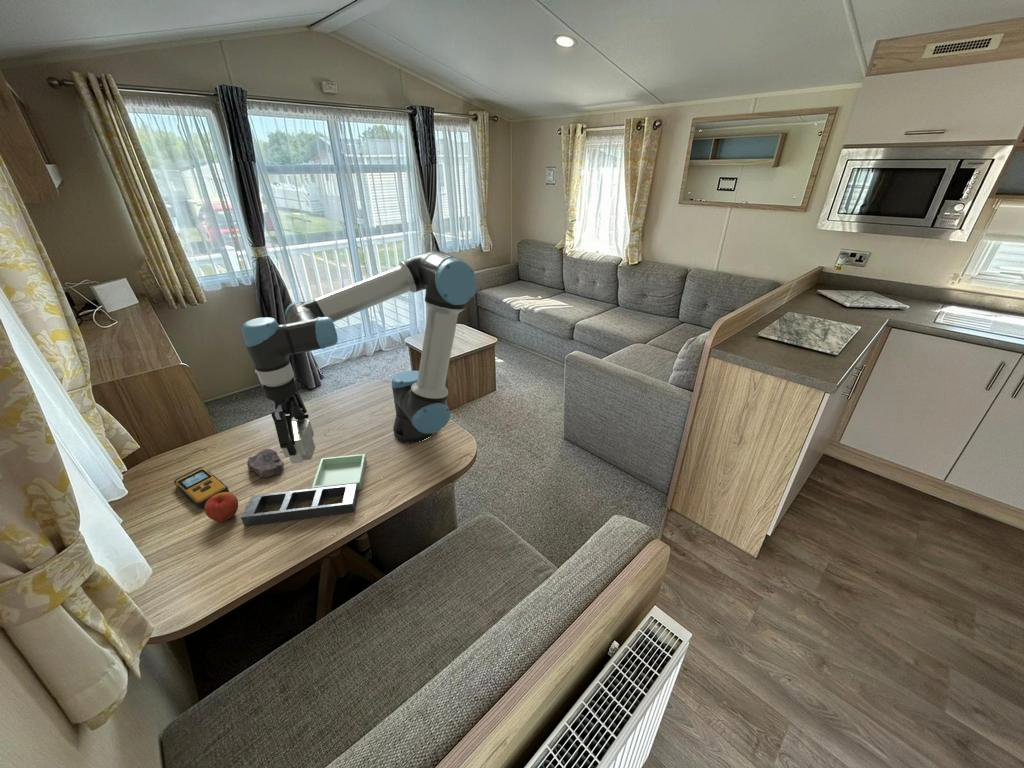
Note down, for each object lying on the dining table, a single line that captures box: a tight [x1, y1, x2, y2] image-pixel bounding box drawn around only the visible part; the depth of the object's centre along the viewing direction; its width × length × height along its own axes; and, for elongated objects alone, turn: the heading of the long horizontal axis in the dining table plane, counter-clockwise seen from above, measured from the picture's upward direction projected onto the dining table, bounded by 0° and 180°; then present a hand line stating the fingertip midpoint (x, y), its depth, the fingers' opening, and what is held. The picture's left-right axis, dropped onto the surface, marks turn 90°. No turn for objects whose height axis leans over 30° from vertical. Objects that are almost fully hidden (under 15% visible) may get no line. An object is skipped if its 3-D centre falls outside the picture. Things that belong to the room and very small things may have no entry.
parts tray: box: [311, 453, 367, 491], centre depth 123 cm, size 13×13×3 cm
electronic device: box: [173, 466, 230, 510], centre depth 117 cm, size 8×16×3 cm, turn 57°
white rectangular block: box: [281, 419, 316, 462], centre depth 109 cm, size 5×9×8 cm, turn 12°
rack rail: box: [240, 483, 360, 528], centre depth 111 cm, size 28×8×4 cm, turn 101°
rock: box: [246, 448, 285, 478], centre depth 125 cm, size 8×11×5 cm
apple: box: [203, 491, 239, 522], centre depth 107 cm, size 7×7×8 cm
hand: (302, 450), depth 110 cm, fingers closed on white rectangular block, 9 cm apart
